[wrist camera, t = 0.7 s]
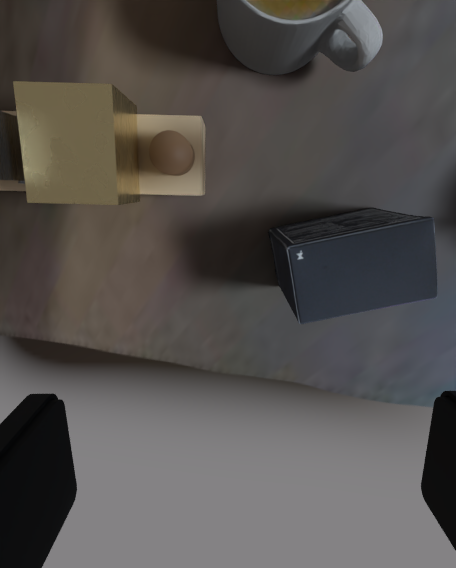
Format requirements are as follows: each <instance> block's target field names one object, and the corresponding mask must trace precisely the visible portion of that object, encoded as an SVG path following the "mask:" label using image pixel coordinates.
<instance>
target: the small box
mask: <svg viewBox="0 0 456 568" xmlns="http://www.w3.org/2000/svg"><path fill="white" fill-rule="evenodd" d="M268 233H269V237H270V240H271V246H272V251H273V256H274V263H275V268H276V269H275V272H276V276H277V280H278V284H279V286H280V288H281V290H282V292H283V293H284V295H285V297H286V299H287V301H288V303H289V305H290V307H291V309H292V311H293V313H294V314H295V316H296V318H297V320H298V323H299V324H304V323H309V322H315V321H320V320H325V319H330V318H335V317H340V316H345V315H350V314H355V313H360V312H365V311H370V310H376V309H381V308H386V307H392V306H397V305H402V304H407V303H413V302H418V301H423V300H429V299H434V298H437V268H436V245H435V228H434V218H432V217H423V216H413V215H406V214H401V213H396V212H391V211H385V210H381V209H376V208H369V209H364V210H359V211H354V212H349V213H344V214H338V215H334V216H329V217H324V218H319V219H314V220H308V221H304V222H299V223H294V224H289V225H285V226H281V227H276V228H271V229H270V230H269V232H268Z"/></svg>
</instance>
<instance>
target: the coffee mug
mask: <svg viewBox="0 0 456 568" xmlns="http://www.w3.org/2000/svg"><path fill="white" fill-rule="evenodd" d="M217 12H218V21H219V26H220V30H221V34H222V36H223V39H224V41H225V43H226V45H227V46H228V48H229V50H230V51H231V53H232V54H233V55H234V56H235V57H236V58H237V59H238V60H239V61H240V62H241V63H242V64H243V65H245V66H246V67H248V68H250V69H252V70H254V71H256V72H259V73H262V74H268V75H281V74H287V73H290V72H293V71H295V70H298V69H299V68H301V67H303V66H304V65H306V64H307V63H308V62H309V61H311V60H312V59H313V58H314V57H315V56H316V55H317V54H318V52H321V53H323V54H324V55H325V56H327V57H328V58H329V59H330V60H332V61H333V62H334V63H335V64H336V65H338V66H339V67H340V68H342V69H344V70H346V71H352V72H355V71H358V70H360V69H362V68H365V67H366V66H367V64H368V63H369V62H370V61H371V60H372V59H373V58H374V57H375V56H376V54H377V53H378V51H379V49H380V47H381V44H382V38H383V35H382V29H381V27H380V25H379V23H378V20H377V19H376V17H375V16H374V15H373V13H372V12H371V11H370V10H369V9H368V7H367V6H366V5H365V4H364V3H363V2H362V1H361V0H217ZM347 34H348V35H349V36H350V37H351V38H352V40H353V41H354V42H355V43H353V42H352V41H351V39H350V38H349V37H348V36H347Z"/></svg>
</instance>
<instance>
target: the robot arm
mask: <svg viewBox="0 0 456 568" xmlns="http://www.w3.org/2000/svg"><path fill="white" fill-rule="evenodd" d="M421 490H422V495H423V497H424V500H425V502H426V503H427V505H428V507H429V508H430V510H431V512H432V513H433V515H434V516H435V518H436V519H437V521H438V523H439V524H440V526H441V528H442V529H443V531H444V532H445V534H446V536H447V537H448V539H449V540H450V542H451V544H452V545H453V547H454V549H455V550H456V391H444V392H443V393H442V394H441V396H440V397H437V398H436V399H435V402H434V407H433V413H432V420H431V426H430V432H429V439H428V445H427V451H426V457H425V464H424V469H423V476H422V482H421ZM76 491H77V484H76V478H75V471H74V464H73V458H72V451H71V445H70V438H69V431H68V425H67V418H66V411H65V405H64V402H63V401H62V400H58V398H57V396H56V395H55V394H30V395H29V396H27V397H26V398H25V399H24V400H23V401H22V402H21V403H20V404H19V405H18V406H17V407H16V408H15V409H14V410H13V411H12V412H11V413H10V415H9V416H8V417H7V418H6V419H5V420H4V421H3V422H2V423H1V424H0V568H42V566H43V564H44V562H45V560H46V558H47V556H48V554H49V552H50V550H51V548H52V546H53V544H54V542H55V540H56V538H57V536H58V533H59V532H60V530H61V528H62V526H63V524H64V521H65V519H66V518H67V515H68V513H69V511H70V509H71V507H72V505H73V503H74V501H75V497H76Z"/></svg>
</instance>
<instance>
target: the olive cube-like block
mask: <svg viewBox="0 0 456 568" xmlns="http://www.w3.org/2000/svg"><path fill="white" fill-rule="evenodd" d="M13 84H14V93H15V101H16V110H17V118H18V127H19V135H20V144H21V152H22V161H23V169H24V178H25V186H26V195H27V203H64V204H102V205H121V204H128V203H134V202H140V185H139V158H138V132H137V106H136V105H135V104H134V103H133V102H132V101H130V100H129V99H128V98H127V97H126V96H125V95H124V94H123V93H121V92H120V91H119V90H118V89H117V88H116V87H115V86H113V85H112V84H93V83H55V82H18V81H13Z"/></svg>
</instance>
